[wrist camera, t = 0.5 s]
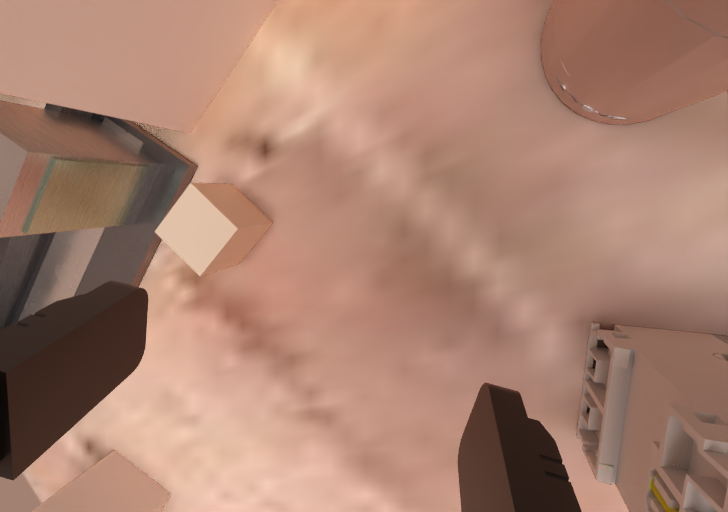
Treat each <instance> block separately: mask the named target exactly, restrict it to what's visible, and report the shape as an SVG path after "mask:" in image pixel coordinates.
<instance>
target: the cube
mask: <svg viewBox="0 0 728 512" xmlns="http://www.w3.org/2000/svg"><path fill="white" fill-rule="evenodd" d="M277 2H278V0H0V93H2V94H6V95H11V96H16V97H20V98H25V99H30V100H35V101H39V102H44V103H49V104H54V105H58V106H63V107H68V108H73V109H77V110H82V111H87V112H91V113H96V114H101V115H106V116H110V117H115V118H120V119H125V120H129V121H134V122H139V123H144V124H148V125H153V126H158V127H162V128H167V129H172V130H177V131H181V132H186V133H191V132H192V130H193V129H194V127H195V125H196V124H197V122H198V121H199V119H200V118H201V116H202V115H203V113H204V112H205V110H206V109H207V107H208V106H209V104H210V103H211V101H212V100H213V98H214V97H215V95H216V94H217V92H218V91H219V89H220V88H221V86H222V85H223V83H224V82H225V80H226V79H227V77H228V76H229V74H230V73H231V71H232V70H233V68H234V67H235V65H236V64H237V62H238V61H239V59H240V58H241V56H242V55H243V53H244V52H245V50H246V49H247V47H248V46H249V44H250V43H251V41H252V40H253V38H254V37H255V35H256V34H257V32H258V31H259V29H260V28H261V26H262V25H263V23H264V21H265V20H266V18H267V17H268V15H269V14H270V12H271V11H272V9H273V8H274V6H275V5H276V3H277Z"/></svg>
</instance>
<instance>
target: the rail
mask: <svg viewBox="0 0 728 512" xmlns="http://www.w3.org/2000/svg"><path fill="white" fill-rule="evenodd" d="M197 167H198V166H197V165H195V164H194V163H192V162H191V161H189V160H188V159H186V158H185V157H183V156H182V155H180V154H179V153H178V152H176V151H175V150H173V149H172V148H170V147H169V146H167V145H166V144H164V143H163V142H161V141H160V140H158V139H157V138H155V137H154V136H152V135H151V134H149V133H148V132H146V131H145V130H143V129H142V128H140V127H139V126H138V125H136V124H135V123H133V122H132V121H129V120H125V119H120V118H115V117H110V116H106V115H101V114H96V113H91V112H87V111H82V110H77V109H73V108H68V107H63V106H58V105H54V104H49V103H47V104H46V106H45V109H41V108H36V107H31V106H26V105H20V104H15V103H10V102H5V101H0V331H1V330H3V329H5V328H7V327H9V326H10V325H12V324H15V325H16V324H17V323H18V321H20V320H22V319H24V318H25V317H27V316H29V315H34V314H35V312H37V311H39V310H41V309H42V308H44V307H46V306H48V305H50V304H52V303H54V302H56V301H59V300H63V299H67V298H70V297H74V296H78V295H81V294H83V295H84V294H86V293H88V292H90V291H92V290H94V289H95V288H97V287H99V286H101V285H103V284H104V283H106V282H108V281H117V282H121V283H124V284H128V285H132V286H136V287H138V286H139V284H140V282H141V280H142V278H143V276H144V274H145V272H146V270H147V268H148V266H149V264H150V262H151V260H152V258H153V256H154V254H155V252H156V250H157V248H158V246H159V244H160V242H161V240H162V239H161V238H160V237H159V236H158V235H157V234H156V233H155V230H156V229H157V228H158V226H159V225H160V224H161V222H162V221H163V220H164V218H165V217H166V215H167V214H168V213H169V211H170V210H171V209H172V207H173V206H174V205H175V203H176V202H177V201H178V199H179V198H180V196H181V195H182V194H183V192H184V191H185V190H186V188H187V187H188V185H189V183H190V181H191V179H192V177H193V175H194V173H195V171H196V169H197Z"/></svg>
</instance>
